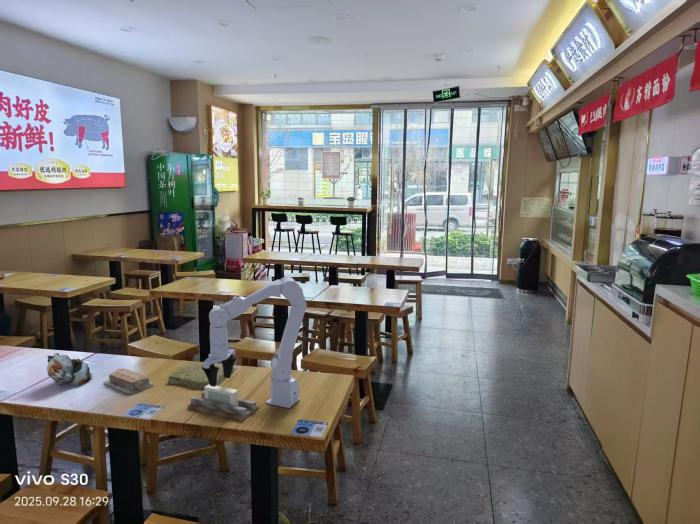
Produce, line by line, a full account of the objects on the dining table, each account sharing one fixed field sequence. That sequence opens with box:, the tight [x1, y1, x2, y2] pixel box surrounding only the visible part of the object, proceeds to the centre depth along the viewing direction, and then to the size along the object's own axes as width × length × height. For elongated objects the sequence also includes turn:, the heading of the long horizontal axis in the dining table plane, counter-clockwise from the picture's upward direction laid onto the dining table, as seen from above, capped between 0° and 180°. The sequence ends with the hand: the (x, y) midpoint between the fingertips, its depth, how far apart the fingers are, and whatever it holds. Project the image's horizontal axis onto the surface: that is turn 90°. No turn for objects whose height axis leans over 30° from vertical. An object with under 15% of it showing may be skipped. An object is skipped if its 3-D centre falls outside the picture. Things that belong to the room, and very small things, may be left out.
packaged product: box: [103, 368, 154, 395], centre depth 180 cm, size 18×5×10 cm
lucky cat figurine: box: [46, 352, 93, 386], centre depth 180 cm, size 15×12×14 cm
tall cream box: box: [203, 384, 239, 407], centre depth 161 cm, size 12×3×6 cm, turn 67°
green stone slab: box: [167, 361, 235, 389], centre depth 187 cm, size 19×20×4 cm
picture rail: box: [187, 390, 260, 422], centre depth 161 cm, size 22×10×3 cm, turn 67°
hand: (220, 381), depth 160 cm, fingers open, 7 cm apart
